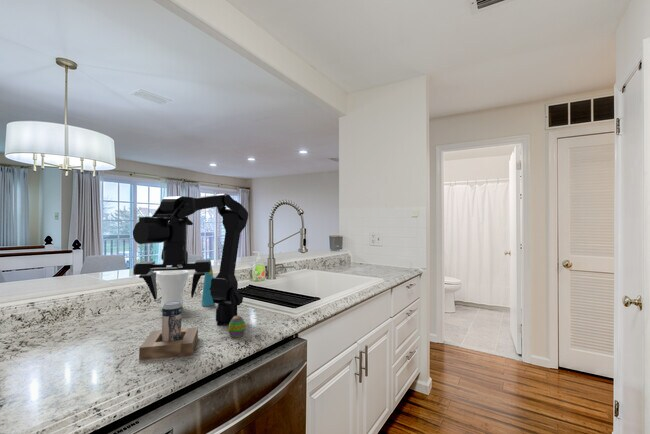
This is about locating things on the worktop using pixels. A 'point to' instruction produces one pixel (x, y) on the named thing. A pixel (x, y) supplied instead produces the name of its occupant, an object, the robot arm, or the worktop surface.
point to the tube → (207, 289)
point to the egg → (236, 327)
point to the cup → (172, 285)
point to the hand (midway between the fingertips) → (174, 298)
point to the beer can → (171, 321)
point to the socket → (168, 345)
